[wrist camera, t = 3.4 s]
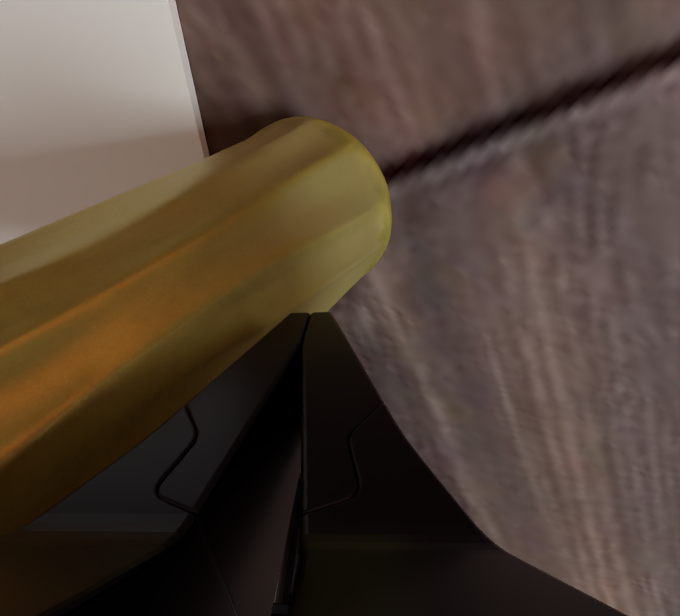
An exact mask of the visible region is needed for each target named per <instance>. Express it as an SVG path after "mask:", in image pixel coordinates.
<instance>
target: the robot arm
mask: <svg viewBox="0 0 680 616" xmlns="http://www.w3.org/2000/svg"><path fill="white" fill-rule="evenodd" d="M300 469H301V480H298V479H299V474H300ZM279 573H280V574H279ZM278 578H279V581H278ZM277 583H278V587H277ZM276 588H277V594H276V600H275V603H273V602H274V598H275V593H276ZM0 616H627V615H625V614H623V613H622V612H620V611H618V610H616V609H614V608H612V607H610V606H608V605H606V604H604V603H602V602H601V601H599V600H597V599H595V598H593V597H591V596H589V595H587V594H585V593H583V592H581V591H580V590H578V589H576V588H574V587H572V586H570V585H568V584H566V583H564V582H562V581H561V580H559V579H557V578H555V577H553V576H551V575H549V574H547V573H545V572H543V571H541V570H540V569H538V568H536V567H534V566H532V565H530V564H528V563H526V562H524V561H522V560H520V559H519V558H517V557H515V556H513V555H511V554H509V553H508V552H506V551H505V550H503V549H502V548H500V547H499V546H498V545H496V544H495V543H494V542H493V541H492V540H491V539H489V538H488V537H487V536H486V535H485V534H484V533H483V532H482V531H481V530H480V529H479V528H478V527H477V526H476V524H475V523H474V522H473V521H472V520H471V519H470V517H469V516H468V515H467V514H466V513H465V511H464V510H463V509H462V508H461V506H460V505H459V504H458V503H457V502H456V500H455V499H454V498H453V497H452V495H451V494H450V493H449V492H448V490H447V489H446V488H445V487H444V486H443V484H442V483H441V482H440V481H439V479H438V478H437V477H436V476H435V475H434V473H433V472H432V471H431V470H430V468H429V467H428V466H427V465H426V463H425V462H424V461H423V460H422V458H421V457H420V456H419V455H418V453H417V452H416V451H415V449H414V448H413V447H412V445H411V444H410V443H409V441H408V440H407V439H406V437H405V436H404V434H403V433H402V431H401V430H400V428H399V426H398V425H397V423H396V422H395V420H394V419H393V417H392V415H391V414H390V412H389V410H388V408H387V407H386V405H384V402H383V400H382V399H381V397H380V395H379V393H378V392H377V390H376V388H375V387H374V385H373V383H372V381H371V380H370V378H369V376H368V375H367V373H366V371H365V369H364V368H363V366H362V364H361V363H360V361H359V359H358V357H357V356H356V354H355V352H354V351H353V349H352V347H351V345H350V344H349V342H348V340H347V339H346V337H345V335H344V333H343V332H342V330H341V328H340V327H339V325H338V323H337V322H336V320H335V318H334V316H333V315H332V313H330V312H314V313H312V314H311V315H310V313H307V312H306V313H290V314H289V315H288V316H287V317H285V318H284V319H283V320H282V321H281V322H280V323H279V324H277V325H276V326H275V327H274V328H273V329H272V330H270V331H269V332H268V333H267V334H266V335H265V336H263V337H262V338H261V339H260V340H259V341H258V342H257V343H255V344H254V345H253V346H252V347H251V348H250V349H248V350H247V351H246V352H245V353H244V354H243V355H242V356H240V357H239V358H238V359H237V360H236V361H235V362H233V363H232V364H231V365H230V366H229V367H228V368H227V369H225V370H224V371H223V372H222V373H221V374H220V375H218V376H217V377H216V378H215V379H214V380H213V381H212V382H210V383H209V384H208V385H207V386H206V387H205V388H203V389H202V390H201V391H200V392H199V393H198V394H197V395H195V396H194V397H193V398H192V399H191V400H190V401H188V402H187V403H186V407H185V406H183V407H181V408H180V409H179V410H178V411H177V412H176V413H174V414H173V415H172V416H171V417H170V418H169V419H167V420H166V421H165V422H164V423H163V424H161V425H160V426H159V427H158V428H156V429H155V430H154V431H153V432H152V433H150V434H149V435H148V436H147V437H146V438H144V439H143V440H142V441H140V442H139V443H138V444H136V445H135V446H134V447H132V448H131V449H130V450H128V451H127V452H126V453H125V454H123V455H122V456H121V457H119V458H118V459H117V460H115V461H114V462H112V463H111V464H110V465H108V466H107V467H106V468H104V469H103V470H102V471H100V472H99V473H97V474H96V475H95V476H93V477H92V478H91V479H89V480H88V481H86V482H85V483H84V484H82V485H81V486H80V487H78V488H77V489H75V490H74V491H73V492H71V493H70V494H69V495H67V496H66V497H64V498H63V499H62V500H60V501H59V502H58V503H56V504H55V505H53V506H52V507H51V508H49V509H48V510H47V511H45V512H44V513H42V514H41V515H39V516H38V517H36V518H35V519H34V520H32V521H31V522H29V523H27V524H26V525H24V526H22V527H20V528H19V529H17V530H15V531H13V532H11V533H9V534H7V535H5V536H3V537H0Z"/></svg>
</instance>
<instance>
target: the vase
mask: <svg viewBox="0 0 680 616" xmlns="http://www.w3.org/2000/svg"><path fill="white" fill-rule="evenodd" d="M391 225H392V212H391V203H390V197H389V192H388V186H387V184H386V181H385V178H384V176H383V174H382V172H381V170H380V168H379V166H378V164H377V163H376V161H375V160H374V158H373V157H372V155H371V154H370V153H369V152H368V150H367V149H366V148H365V147H364V146H363V145H362V144H361V142H360V141H359V140H357V139H356V138H355V137H354V136H353V135H351V134H350V133H348V132H346V131H345V130H343V129H341V128H339V127H338V126H336V125H334V124H331V123H329V122H327V121H324V120H321V119H317V118H313V117H304V116H300V117H291V118H285V119H281V120H279V121H276V122H274V123H272V124H270V125H268V126H266V127H264V128H263V129H261V130H260V131H258V132H257V133H256V134H254V135H253V136H251V137H250V138H248V139H246V140H244V141H242V142H240V143H238V144H235V145H233V146H231V147H229V148H227V149H224V150H222V151H220V152H218V153H216V154H214V155H211V156H209V157H207V158H205V159H202V160H200V161H198V162H195V163H193V164H191V165H189V166H187V167H185V168H183V169H181V170H178V171H176V172H173V173H171V174H168V175H166V176H163V177H161V178H158V179H156V180H153V181H151V182H148V183H145V184H143V185H140V186H138V187H135V188H133V189H131V190H128V191H126V192H123V193H121V194H118V195H116V196H114V197H111V198H109V199H107V200H104V201H102V202H99V203H97V204H95V205H92V206H90V207H87V208H85V209H83V210H80V211H78V212H76V213H73V214H71V215H69V216H66V217H64V218H62V219H59V220H57V221H54V222H52V223H50V224H47V225H45V226H43V227H40V228H38V229H36V230H33V231H31V232H29V233H26V234H24V235H22V236H19V237H17V238H15V239H12V240H10V241H7V242H5V243H3V244H0V537H3V536H5V535H7V534H9V533H11V532H13V531H15V530H17V529H19V528H20V527H22V526H24V525H26V524H27V523H29V522H31V521H32V520H34V519H35V518H36V517H38V516H39V515H41V514H42V513H44V512H45V511H47V510H48V509H49V508H51V507H52V506H53V505H55V504H56V503H58V502H59V501H60V500H62V499H63V498H64V497H66V496H67V495H69V494H70V493H71V492H73V491H74V490H75V489H77V488H78V487H80V486H81V485H82V484H84V483H85V482H86V481H88V480H89V479H91V478H92V477H93V476H95V475H96V474H97V473H99V472H100V471H102V470H103V469H104V468H106V467H107V466H108V465H110V464H111V463H112V462H114V461H115V460H117V459H118V458H119V457H121V456H122V455H123V454H125V453H126V452H127V451H128V450H130V449H131V448H132V447H134V446H135V445H136V444H138V443H139V442H140V441H142V440H143V439H144V438H146V437H147V436H148V435H149V434H150V433H152V432H153V431H154V430H155V429H156V428H158V427H159V426H160V425H161V424H163V423H164V422H165V421H166V420H167V419H169V418H170V417H171V416H172V415H173V414H174V413H176V412H177V411H178V410H179V409H180V408H181V407H183V406H185V407H186V403H187V402H188V401H190V400H191V399H192V398H193V397H194V396H195V395H197V394H198V393H199V392H200V391H201V390H202V389H203V388H205V387H206V386H207V385H208V384H209V383H210V382H212V381H213V380H214V379H215V378H216V377H217V376H218V375H220V374H221V373H222V372H223V371H224V370H225V369H227V368H228V367H229V366H230V365H231V364H232V363H233V362H235V361H236V360H237V359H238V358H239V357H240V356H242V355H243V354H244V353H245V352H246V351H247V350H248V349H250V348H251V347H252V346H253V345H254V344H255V343H257V342H258V341H259V340H260V339H261V338H262V337H263V336H265V335H266V334H267V333H268V332H269V331H270V330H272V329H273V328H274V327H275V326H276V325H277V324H279V323H280V322H281V321H282V320H283V319H284V318H285V317H287V316H288V315H289V314H290V313H306V312H307V313H310V315H311V314H312V313H314V312H327V311H328V310H329V309H330V308H331V307H332V306H333V305H334V304H335V303H336V302H337V301H338V300H339V299H340V298H341V297H342V296H343V295H344V294H345V293H346V292H347V291H348V290H349V289H350V288H351V287H352V286H353V285H354V284H355V283H356V282H357V281H358V280H359V279H360V278H361V277H362V276H364V275H366V274H367V273H368V272H369V271H370V270H371V269H372V268H373V267H374V266H375V265H376V263H377V262H378V260H379V259H380V258H381V256H382V255H383V253H384V251H385V249H386V247H387V245H388V242H389V239H390V234H391Z"/></svg>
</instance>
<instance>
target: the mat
mask: <svg viewBox="0 0 680 616" xmlns="http://www.w3.org/2000/svg"><path fill="white" fill-rule="evenodd" d="M207 157H209V151H208V147H207V142H206V138H205V133H204V129H203V124H202V120H201V115H200V111H199V106H198V102H197V97H196V93H195V88H194V83H193V79H192V74H191V70H190V65H189V61H188V56H187V52H186V47H185V43H184V38H183V34H182V29H181V25H180V20H179V16H178V11H177V7H176V2H175V0H0V244H3V243H5V242H7V241H10V240H12V239H15V238H17V237H19V236H22V235H24V234H26V233H29V232H31V231H33V230H36V229H38V228H40V227H43V226H45V225H47V224H50V223H52V222H54V221H57V220H59V219H62V218H64V217H66V216H69V215H71V214H73V213H76V212H78V211H80V210H83V209H85V208H87V207H90V206H92V205H95V204H97V203H99V202H102V201H104V200H107V199H109V198H111V197H114V196H116V195H118V194H121V193H123V192H126V191H128V190H131V189H133V188H135V187H138V186H140V185H143V184H145V183H148V182H151V181H153V180H156V179H158V178H161V177H163V176H166V175H168V174H171V173H173V172H176V171H178V170H181V169H183V168H185V167H187V166H189V165H191V164H193V163H195V162H198V161H200V160H202V159H205V158H207Z"/></svg>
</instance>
